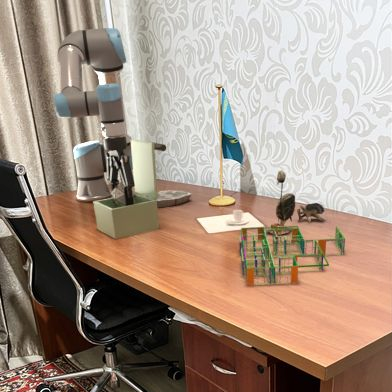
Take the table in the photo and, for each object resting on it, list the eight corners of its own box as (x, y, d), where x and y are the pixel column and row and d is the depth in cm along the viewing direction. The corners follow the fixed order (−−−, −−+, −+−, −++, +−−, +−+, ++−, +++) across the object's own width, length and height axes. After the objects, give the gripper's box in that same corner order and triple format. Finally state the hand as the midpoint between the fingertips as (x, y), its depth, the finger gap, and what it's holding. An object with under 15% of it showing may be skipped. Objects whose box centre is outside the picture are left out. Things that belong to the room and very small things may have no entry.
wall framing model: (238, 243, 163) (238, 228, 160) (333, 238, 161) (334, 222, 159) (244, 286, 132) (243, 268, 130) (360, 280, 131) (362, 262, 128)
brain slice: (176, 195, 226) (176, 188, 225) (196, 201, 213) (196, 194, 212) (136, 203, 218) (135, 196, 216) (154, 210, 205) (153, 203, 203)
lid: (151, 143, 169) (171, 141, 172) (130, 139, 181) (149, 137, 184) (155, 199, 177) (174, 196, 180) (134, 191, 189) (153, 189, 192)
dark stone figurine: (302, 230, 170) (304, 167, 160) (274, 237, 165) (275, 173, 155) (286, 225, 176) (288, 164, 166) (259, 232, 172) (259, 169, 162)
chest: (115, 239, 175) (111, 209, 170) (97, 229, 187) (93, 201, 182) (159, 228, 182) (156, 200, 177) (139, 219, 194) (136, 193, 189)
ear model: (227, 227, 179) (227, 215, 177) (221, 221, 185) (221, 209, 183) (251, 224, 180) (251, 212, 178) (245, 218, 187) (245, 207, 185)
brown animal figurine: (298, 222, 175) (325, 216, 172) (295, 201, 175) (322, 196, 173) (300, 228, 182) (326, 223, 180) (297, 208, 183) (323, 203, 180)
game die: (123, 218, 180) (108, 199, 172) (114, 205, 185) (100, 186, 177) (144, 202, 180) (130, 183, 172) (134, 190, 185) (120, 170, 176)
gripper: (91, 135, 176) (101, 201, 187) (118, 140, 159) (127, 212, 170) (111, 132, 179) (120, 197, 190) (140, 137, 162) (147, 208, 173)
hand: (123, 204), depth 180 cm, fingers closed on game die, 10 cm apart
